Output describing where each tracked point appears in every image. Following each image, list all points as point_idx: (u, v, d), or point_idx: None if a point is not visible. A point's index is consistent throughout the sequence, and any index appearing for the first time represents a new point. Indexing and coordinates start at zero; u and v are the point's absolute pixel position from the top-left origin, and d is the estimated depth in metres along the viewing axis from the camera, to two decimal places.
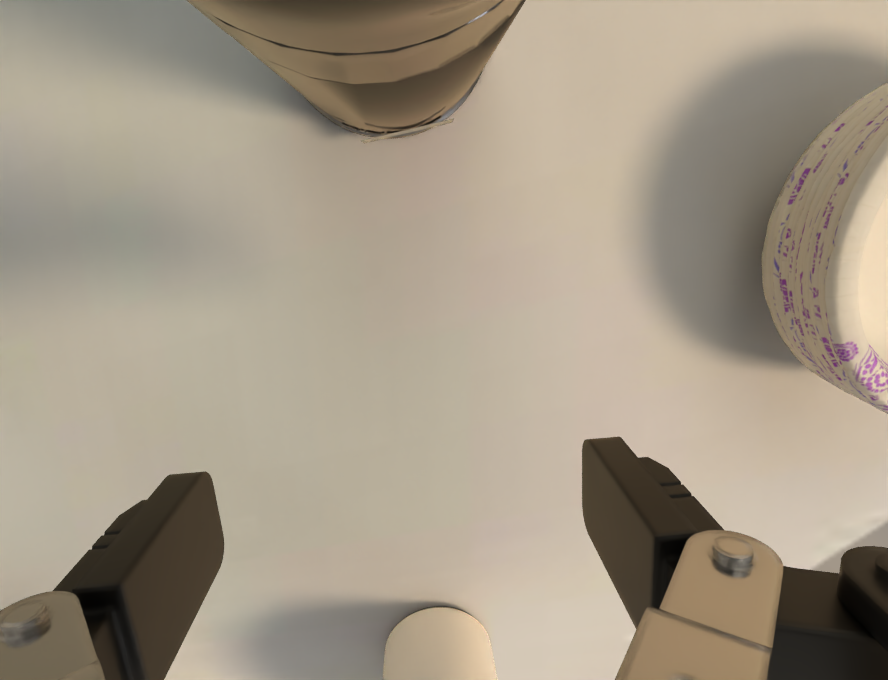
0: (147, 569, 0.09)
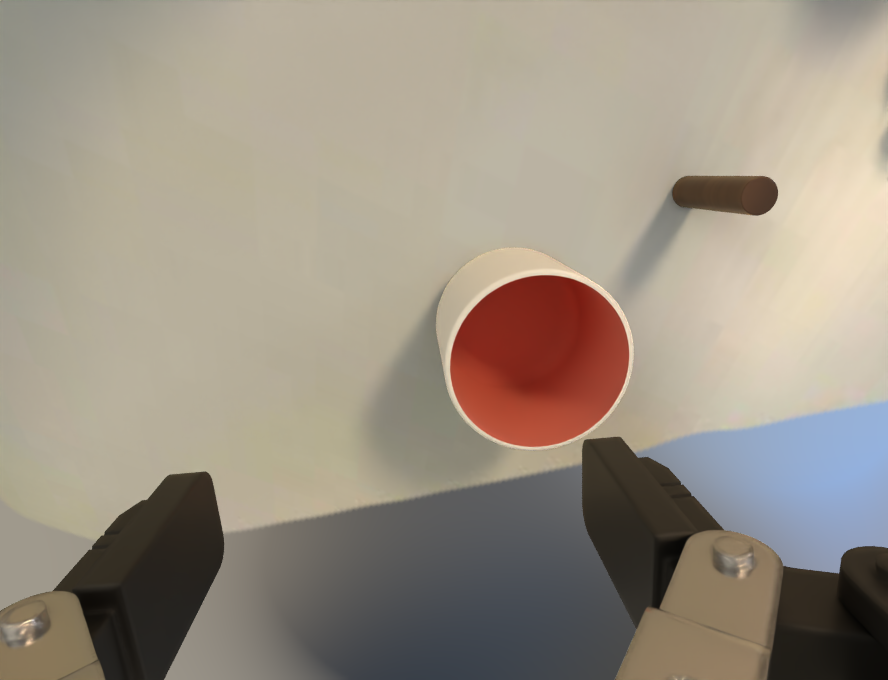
0: (147, 569, 0.09)
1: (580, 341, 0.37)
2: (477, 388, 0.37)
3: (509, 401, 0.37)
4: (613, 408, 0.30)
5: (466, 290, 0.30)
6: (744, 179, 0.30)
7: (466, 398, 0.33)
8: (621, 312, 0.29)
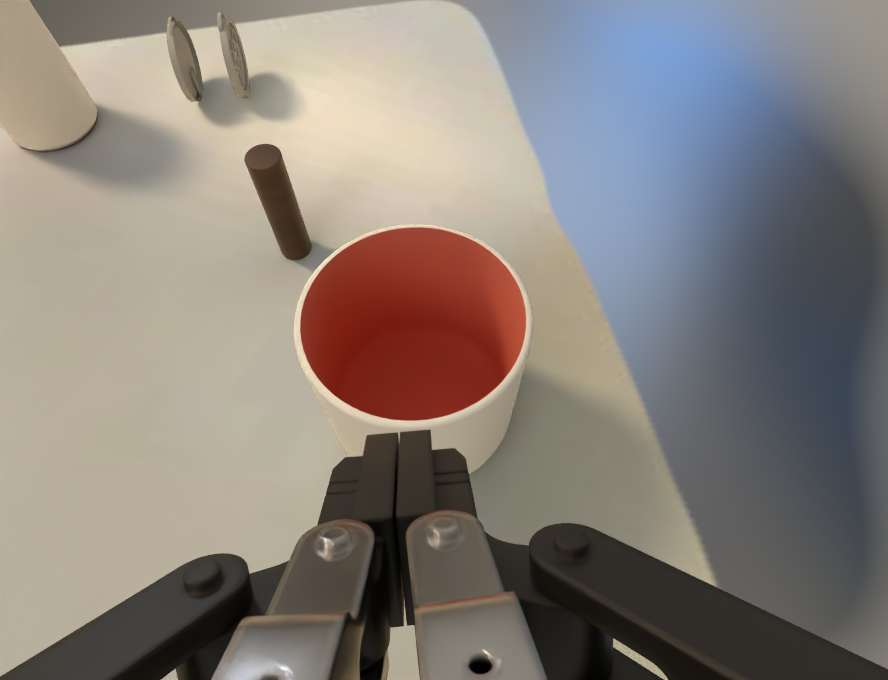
0: (394, 508, 0.10)
1: (439, 318, 0.33)
2: None
3: None
4: (470, 236, 0.25)
5: (336, 421, 0.24)
6: None
7: None
8: (353, 239, 0.25)
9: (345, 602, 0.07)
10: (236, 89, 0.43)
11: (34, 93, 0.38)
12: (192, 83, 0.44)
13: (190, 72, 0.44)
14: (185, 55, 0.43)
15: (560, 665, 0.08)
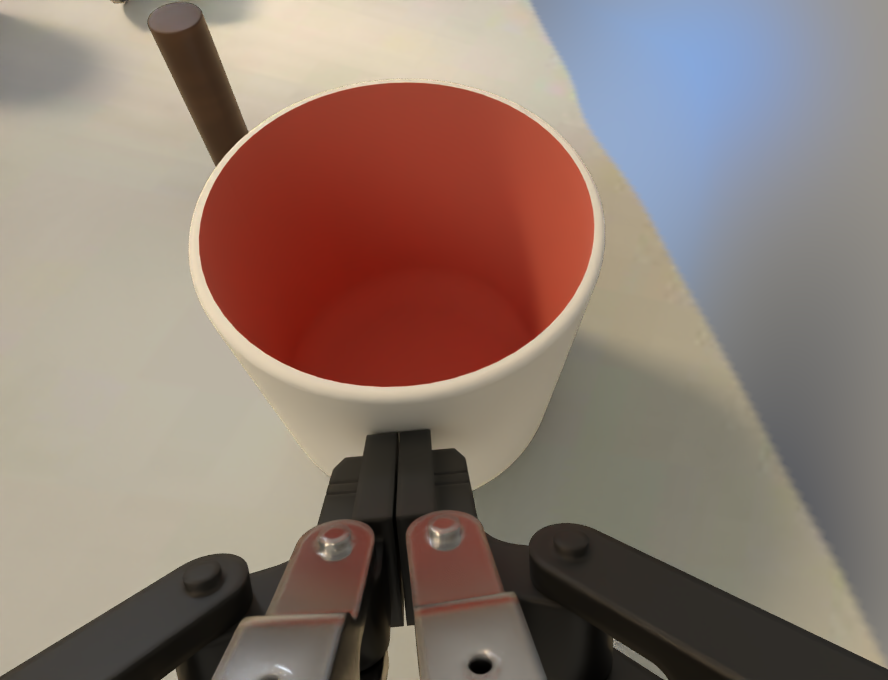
0: (395, 508, 0.10)
1: (440, 255, 0.23)
2: None
3: None
4: (488, 93, 0.16)
5: (269, 397, 0.14)
6: (157, 44, 0.21)
7: None
8: (298, 102, 0.16)
9: (345, 602, 0.07)
10: None
11: None
12: None
13: None
14: None
15: (560, 665, 0.08)
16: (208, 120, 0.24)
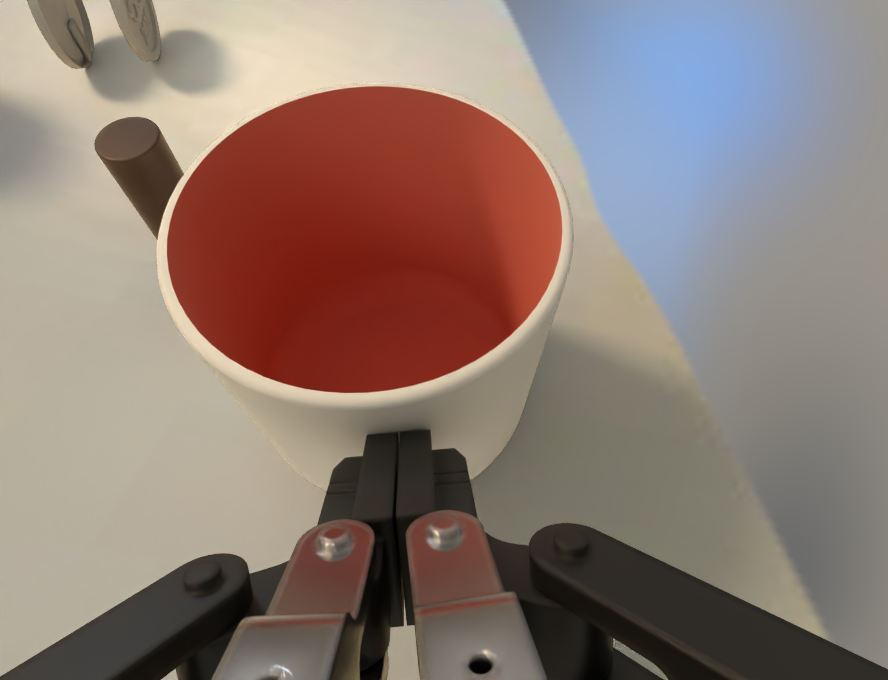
0: (395, 508, 0.10)
1: (398, 256, 0.23)
2: None
3: (523, 322, 0.19)
4: (432, 89, 0.16)
5: (265, 421, 0.14)
6: (107, 167, 0.18)
7: None
8: (242, 120, 0.15)
9: (345, 602, 0.07)
10: (134, 48, 0.30)
11: None
12: (74, 42, 0.31)
13: (69, 25, 0.30)
14: (60, 0, 0.30)
15: (560, 665, 0.08)
16: None
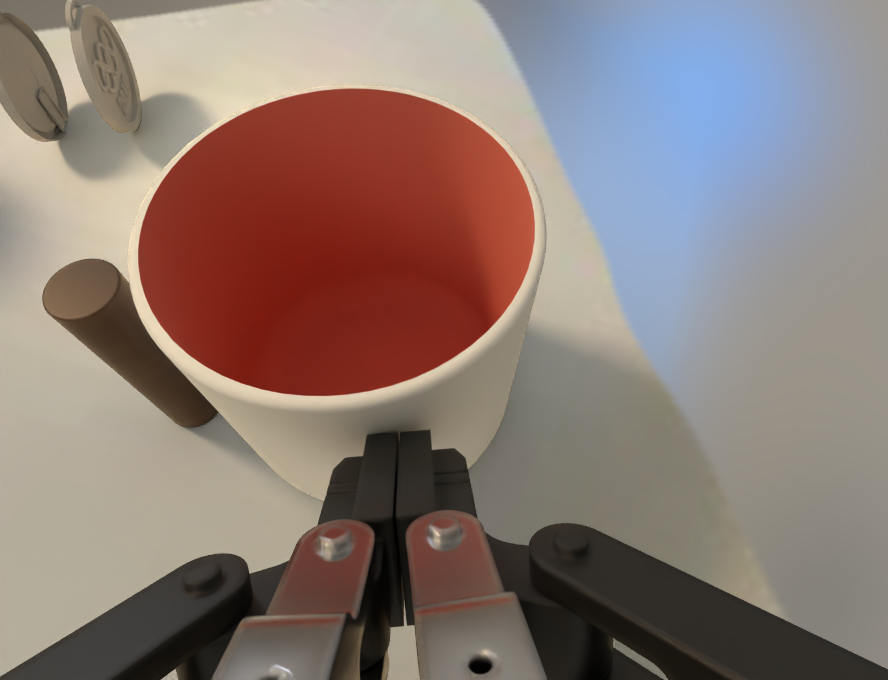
0: (395, 508, 0.10)
1: (364, 259, 0.23)
2: None
3: (498, 307, 0.20)
4: (385, 87, 0.16)
5: (263, 437, 0.14)
6: None
7: None
8: (197, 137, 0.15)
9: (345, 602, 0.07)
10: (110, 123, 0.27)
11: None
12: (44, 112, 0.28)
13: (38, 95, 0.28)
14: (28, 69, 0.27)
15: (560, 665, 0.08)
16: (140, 382, 0.18)
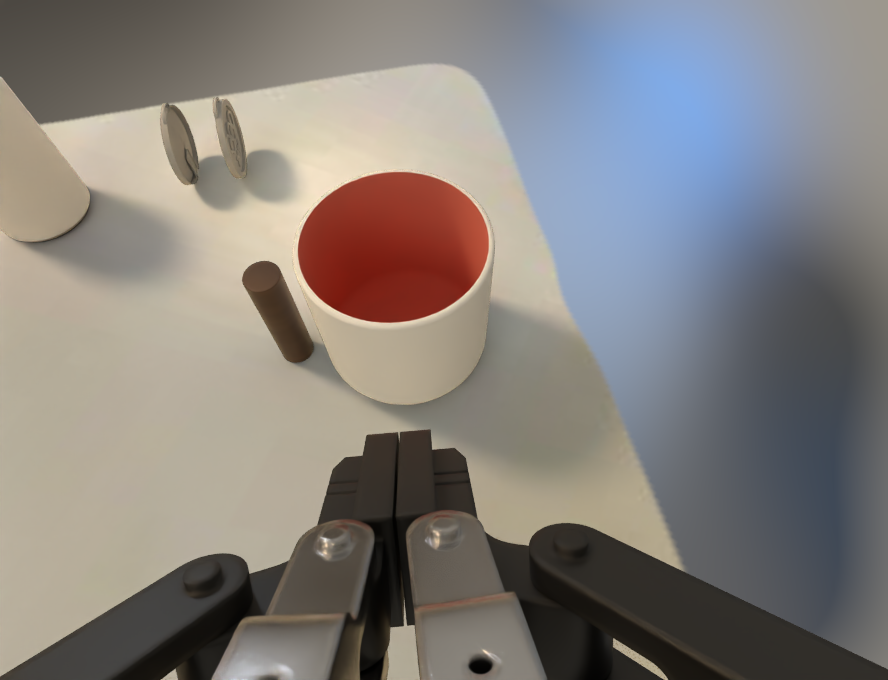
0: (395, 508, 0.10)
1: (399, 261, 0.37)
2: None
3: None
4: (416, 171, 0.30)
5: (354, 348, 0.28)
6: (248, 292, 0.30)
7: None
8: (320, 198, 0.29)
9: (345, 602, 0.07)
10: (233, 173, 0.41)
11: (23, 190, 0.37)
12: (188, 166, 0.43)
13: (185, 155, 0.42)
14: (180, 138, 0.42)
15: (560, 665, 0.08)
16: (278, 329, 0.32)
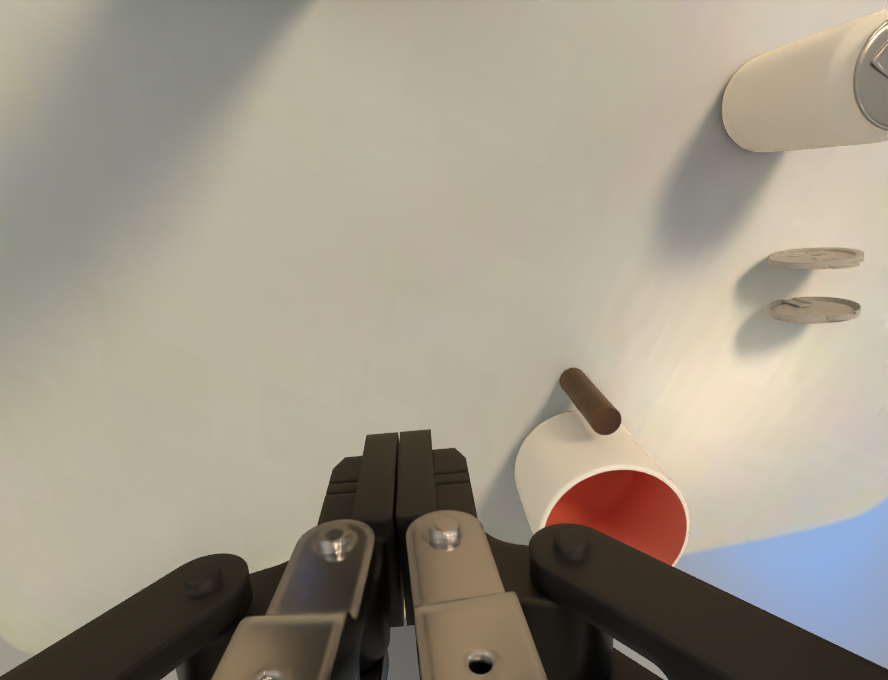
0: (395, 508, 0.10)
1: None
2: None
3: None
4: (684, 547, 0.37)
5: (538, 487, 0.38)
6: (595, 405, 0.37)
7: None
8: (666, 479, 0.35)
9: (345, 602, 0.07)
10: (769, 311, 0.41)
11: (765, 129, 0.35)
12: None
13: None
14: None
15: (560, 665, 0.08)
16: (574, 400, 0.40)
